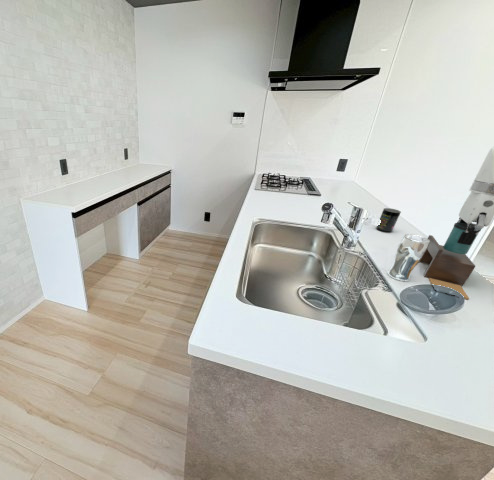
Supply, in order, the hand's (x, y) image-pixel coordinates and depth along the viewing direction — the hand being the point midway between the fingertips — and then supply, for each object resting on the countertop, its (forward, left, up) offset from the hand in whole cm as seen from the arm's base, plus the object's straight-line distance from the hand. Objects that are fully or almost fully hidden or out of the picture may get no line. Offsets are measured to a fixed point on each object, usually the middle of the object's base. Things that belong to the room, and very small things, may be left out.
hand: (460, 239), depth 88 cm
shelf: (+1, 0, -14) cm, 14 cm away
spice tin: (0, 0, -4) cm, 4 cm away
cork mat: (+1, +12, -14) cm, 18 cm away
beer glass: (+14, +12, -14) cm, 23 cm away
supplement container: (+14, -37, -14) cm, 42 cm away
